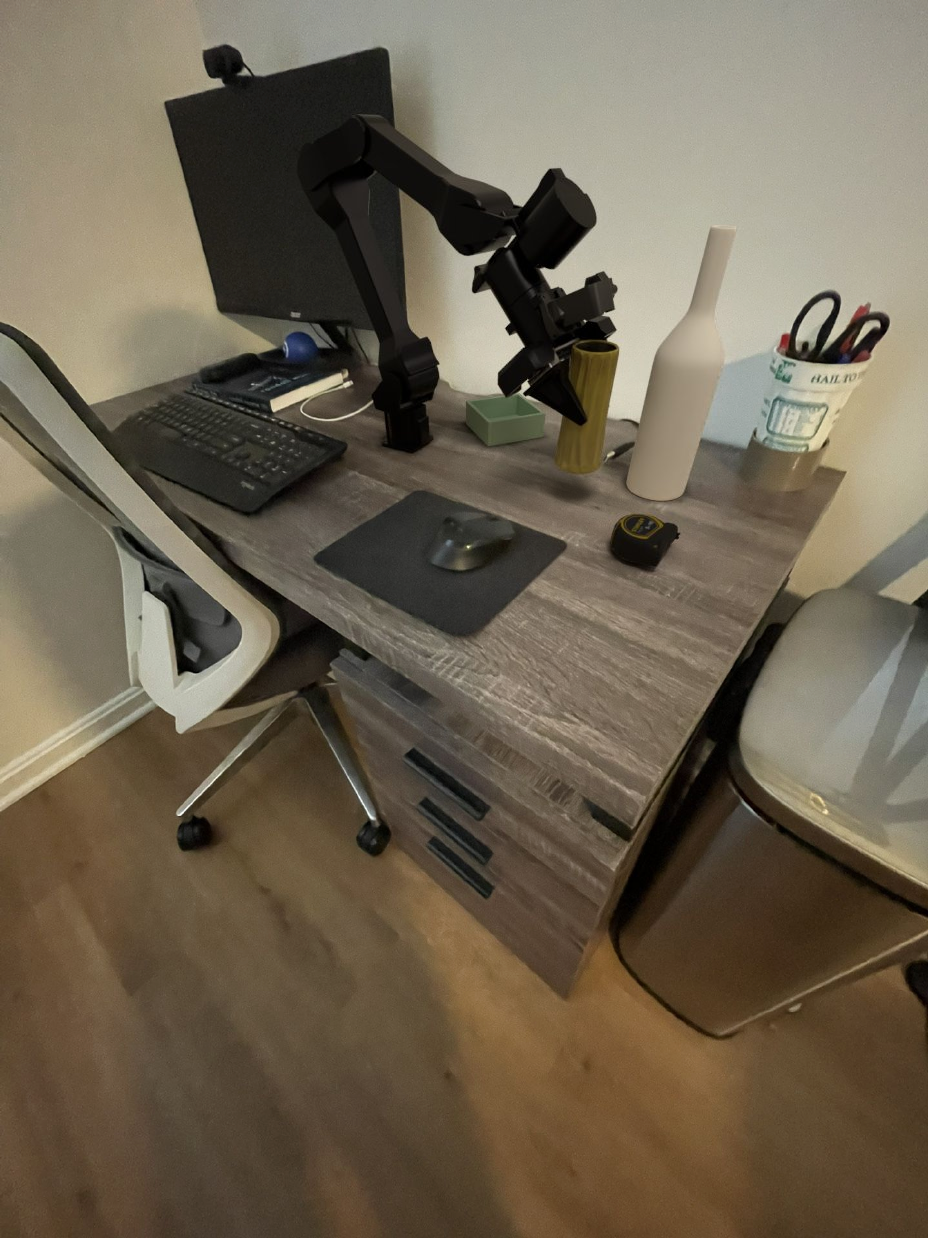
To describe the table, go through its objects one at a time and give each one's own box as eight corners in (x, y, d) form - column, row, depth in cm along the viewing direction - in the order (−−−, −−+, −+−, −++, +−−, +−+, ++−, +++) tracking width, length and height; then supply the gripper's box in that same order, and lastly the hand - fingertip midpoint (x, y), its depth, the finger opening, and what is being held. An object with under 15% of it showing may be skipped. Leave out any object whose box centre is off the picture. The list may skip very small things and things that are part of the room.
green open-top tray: (487, 446, 85) (488, 422, 82) (465, 423, 92) (465, 400, 89) (543, 437, 87) (545, 413, 85) (517, 415, 94) (519, 392, 92)
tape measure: (653, 577, 59) (662, 550, 56) (598, 556, 62) (604, 529, 59) (675, 549, 63) (684, 523, 60) (622, 531, 66) (629, 505, 63)
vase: (607, 460, 69) (631, 343, 59) (590, 479, 65) (612, 357, 55) (565, 449, 71) (581, 335, 62) (546, 467, 67) (559, 348, 58)
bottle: (616, 490, 74) (671, 227, 53) (639, 469, 78) (698, 220, 58) (671, 507, 70) (753, 232, 50) (692, 484, 75) (775, 224, 54)
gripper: (528, 256, 49) (612, 402, 51) (616, 235, 59) (682, 356, 62) (463, 334, 58) (537, 455, 60) (550, 303, 68) (610, 407, 71)
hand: (595, 416), depth 63 cm, fingers closed on vase, 5 cm apart
